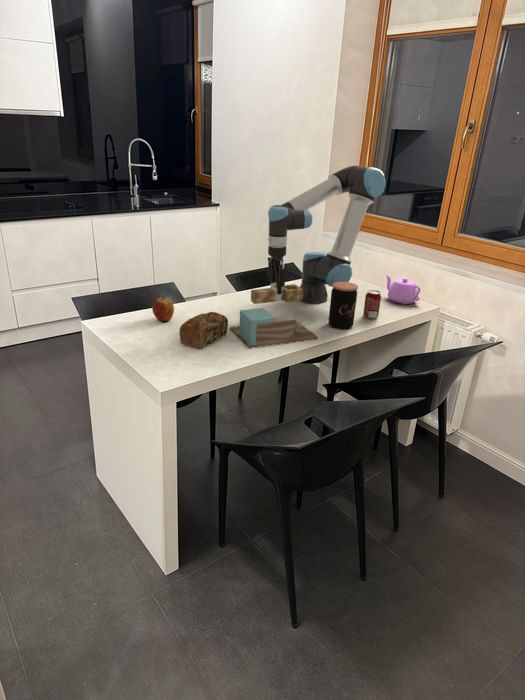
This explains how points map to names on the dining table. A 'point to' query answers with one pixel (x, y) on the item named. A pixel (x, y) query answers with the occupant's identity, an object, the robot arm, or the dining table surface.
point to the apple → (163, 309)
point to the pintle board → (278, 333)
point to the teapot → (402, 290)
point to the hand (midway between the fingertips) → (275, 299)
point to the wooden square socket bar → (268, 294)
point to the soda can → (372, 304)
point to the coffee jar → (342, 305)
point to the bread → (203, 329)
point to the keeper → (253, 323)
